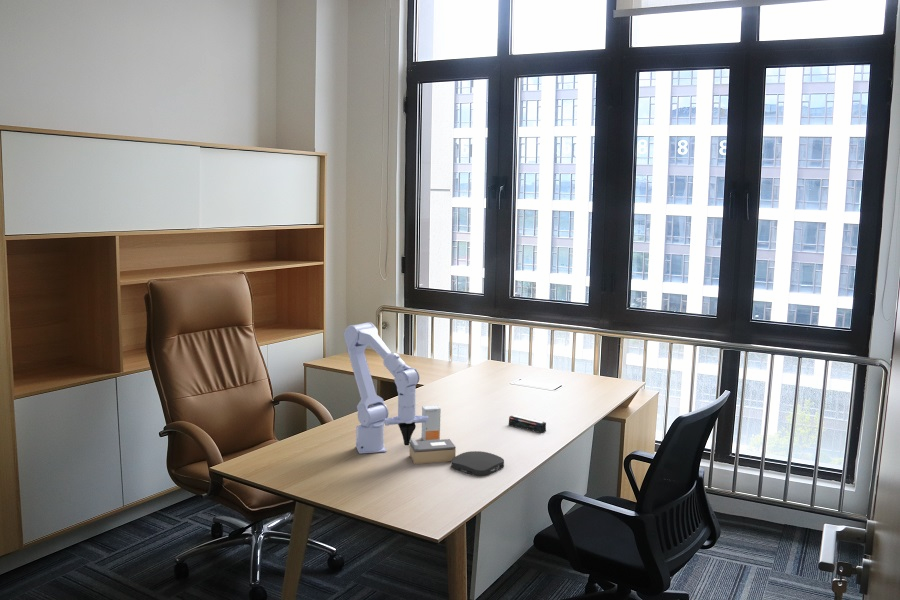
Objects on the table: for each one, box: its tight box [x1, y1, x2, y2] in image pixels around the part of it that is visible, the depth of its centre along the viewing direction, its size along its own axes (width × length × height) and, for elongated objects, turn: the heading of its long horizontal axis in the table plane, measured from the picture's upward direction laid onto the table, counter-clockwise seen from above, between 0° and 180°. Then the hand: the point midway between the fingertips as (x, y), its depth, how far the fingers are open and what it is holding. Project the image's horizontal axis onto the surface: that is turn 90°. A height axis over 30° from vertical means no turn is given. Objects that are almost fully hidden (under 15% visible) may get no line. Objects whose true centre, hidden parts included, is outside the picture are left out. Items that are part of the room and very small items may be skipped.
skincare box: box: [421, 405, 441, 441], centre depth 279 cm, size 6×4×12 cm
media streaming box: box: [450, 450, 505, 477], centre depth 254 cm, size 15×15×3 cm
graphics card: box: [508, 414, 547, 434], centre depth 296 cm, size 14×25×4 cm, turn 52°
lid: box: [409, 437, 457, 452], centre depth 260 cm, size 14×8×2 cm, turn 105°
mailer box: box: [409, 444, 457, 465], centre depth 260 cm, size 14×8×4 cm, turn 105°
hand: (406, 444), depth 257 cm, fingers closed
